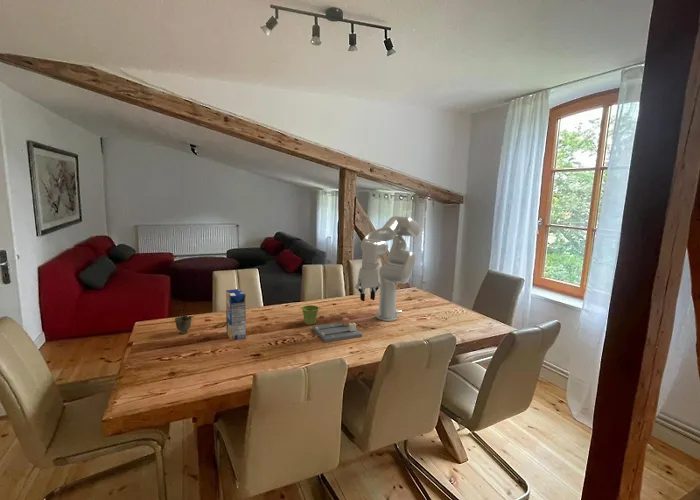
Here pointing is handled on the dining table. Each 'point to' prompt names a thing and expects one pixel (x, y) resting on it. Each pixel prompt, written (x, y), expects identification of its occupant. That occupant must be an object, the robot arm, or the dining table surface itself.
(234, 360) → the dining table surface
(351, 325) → the fader ivory
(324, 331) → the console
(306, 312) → the plant pot
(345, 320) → the fader rust
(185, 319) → the cup
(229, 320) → the beverage box
